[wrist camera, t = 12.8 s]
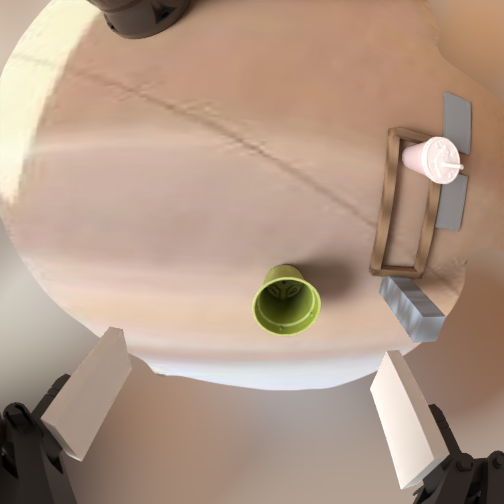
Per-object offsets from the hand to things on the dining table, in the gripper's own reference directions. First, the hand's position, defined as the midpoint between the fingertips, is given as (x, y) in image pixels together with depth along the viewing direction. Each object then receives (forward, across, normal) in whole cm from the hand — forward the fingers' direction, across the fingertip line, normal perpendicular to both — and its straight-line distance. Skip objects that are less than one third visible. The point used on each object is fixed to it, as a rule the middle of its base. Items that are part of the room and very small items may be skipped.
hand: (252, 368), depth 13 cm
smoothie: (+32, +23, +12) cm, 41 cm away
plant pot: (+32, +4, -10) cm, 34 cm away
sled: (+32, +23, +3) cm, 39 cm away
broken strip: (+32, +32, +14) cm, 47 cm away
